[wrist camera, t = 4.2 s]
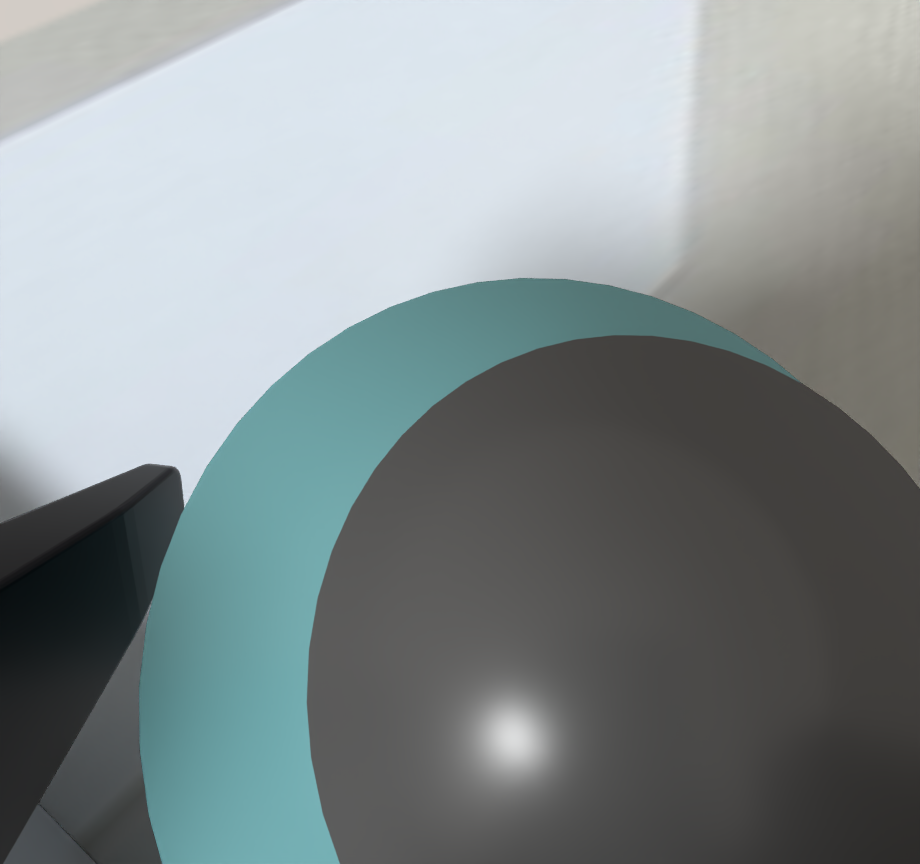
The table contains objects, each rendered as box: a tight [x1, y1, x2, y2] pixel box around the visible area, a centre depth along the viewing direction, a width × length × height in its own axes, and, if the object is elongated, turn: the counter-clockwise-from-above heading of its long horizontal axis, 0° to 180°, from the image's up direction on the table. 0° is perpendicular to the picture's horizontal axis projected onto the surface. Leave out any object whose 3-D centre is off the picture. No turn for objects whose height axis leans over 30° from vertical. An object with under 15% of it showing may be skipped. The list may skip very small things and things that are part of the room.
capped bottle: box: [139, 278, 920, 864], centre depth 9 cm, size 5×5×13 cm
